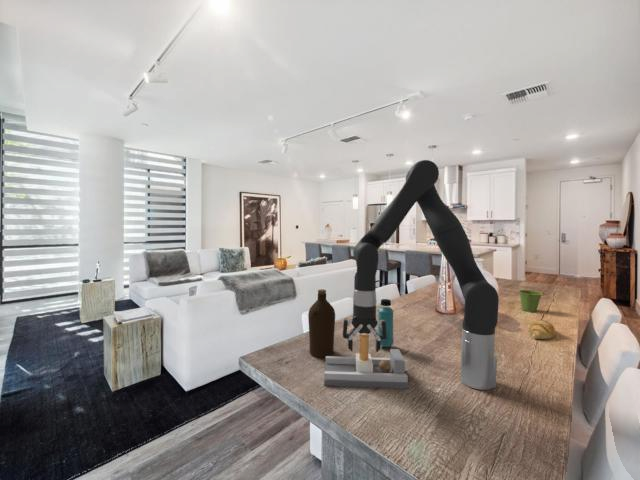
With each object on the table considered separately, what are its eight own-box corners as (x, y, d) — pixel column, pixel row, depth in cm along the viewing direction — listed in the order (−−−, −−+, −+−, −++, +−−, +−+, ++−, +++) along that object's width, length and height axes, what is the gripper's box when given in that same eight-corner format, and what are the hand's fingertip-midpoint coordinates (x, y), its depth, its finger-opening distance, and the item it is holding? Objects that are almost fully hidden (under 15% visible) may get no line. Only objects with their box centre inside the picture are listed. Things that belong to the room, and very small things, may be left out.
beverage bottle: (396, 347, 123) (397, 299, 122) (388, 352, 118) (388, 302, 117) (382, 342, 128) (383, 296, 127) (374, 347, 123) (374, 299, 122)
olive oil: (335, 358, 112) (336, 293, 111) (307, 358, 112) (307, 293, 111) (334, 347, 123) (334, 287, 121) (308, 347, 123) (309, 287, 122)
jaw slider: (369, 364, 104) (370, 330, 103) (372, 377, 95) (373, 340, 95) (355, 364, 104) (355, 330, 103) (357, 376, 95) (357, 340, 95)
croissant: (542, 350, 130) (554, 336, 127) (519, 334, 136) (529, 321, 133) (553, 337, 144) (563, 324, 141) (531, 323, 150) (541, 311, 147)
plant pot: (523, 313, 173) (524, 293, 172) (513, 307, 184) (514, 289, 184) (546, 314, 171) (547, 294, 170) (534, 308, 182) (535, 290, 182)
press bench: (398, 366, 106) (398, 346, 106) (407, 388, 92) (408, 364, 92) (325, 364, 107) (325, 344, 107) (324, 385, 93) (324, 362, 93)
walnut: (389, 369, 101) (389, 357, 101) (391, 375, 97) (392, 363, 97) (377, 368, 101) (378, 357, 101) (379, 374, 97) (379, 362, 97)
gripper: (384, 300, 102) (383, 346, 103) (342, 299, 103) (342, 345, 103) (388, 306, 94) (387, 356, 95) (343, 305, 95) (342, 354, 96)
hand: (364, 350), depth 99 cm, fingers open, 8 cm apart
